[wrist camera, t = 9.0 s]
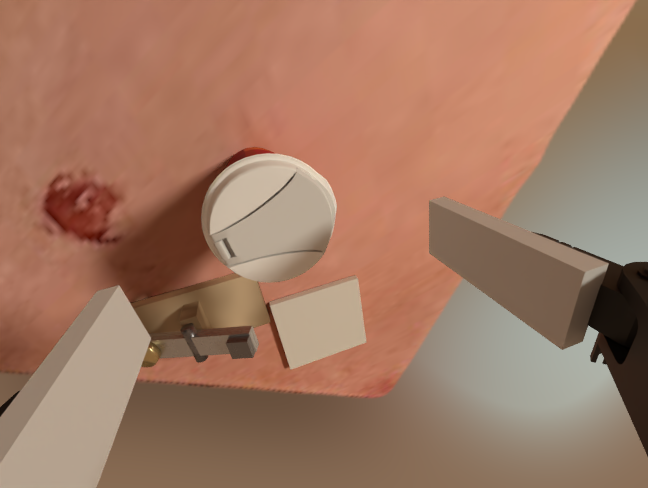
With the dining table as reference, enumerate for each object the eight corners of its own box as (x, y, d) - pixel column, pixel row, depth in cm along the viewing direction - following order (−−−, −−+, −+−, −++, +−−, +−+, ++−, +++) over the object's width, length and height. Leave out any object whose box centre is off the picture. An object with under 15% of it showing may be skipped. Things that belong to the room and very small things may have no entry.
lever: (149, 356, 30) (138, 372, 28) (131, 328, 28) (118, 343, 27) (261, 348, 28) (256, 364, 27) (249, 318, 27) (243, 333, 25)
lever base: (147, 355, 32) (137, 383, 29) (116, 307, 29) (102, 332, 26) (269, 316, 35) (273, 337, 32) (253, 267, 32) (255, 286, 28)
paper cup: (235, 226, 29) (238, 309, 17) (198, 152, 26) (167, 190, 13) (306, 198, 30) (357, 258, 18) (280, 122, 26) (321, 133, 14)
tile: (289, 364, 39) (290, 369, 38) (269, 301, 34) (269, 305, 33) (364, 338, 41) (366, 342, 40) (355, 274, 36) (357, 278, 35)
